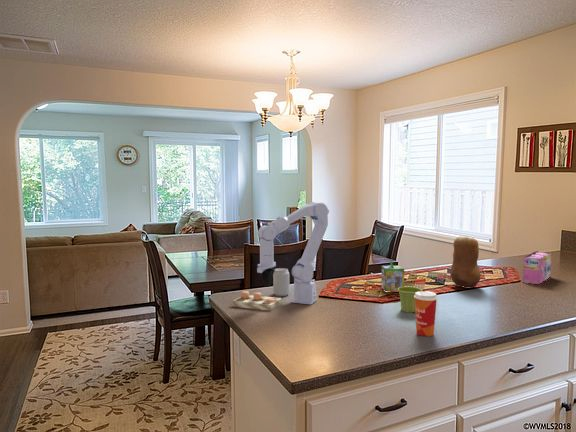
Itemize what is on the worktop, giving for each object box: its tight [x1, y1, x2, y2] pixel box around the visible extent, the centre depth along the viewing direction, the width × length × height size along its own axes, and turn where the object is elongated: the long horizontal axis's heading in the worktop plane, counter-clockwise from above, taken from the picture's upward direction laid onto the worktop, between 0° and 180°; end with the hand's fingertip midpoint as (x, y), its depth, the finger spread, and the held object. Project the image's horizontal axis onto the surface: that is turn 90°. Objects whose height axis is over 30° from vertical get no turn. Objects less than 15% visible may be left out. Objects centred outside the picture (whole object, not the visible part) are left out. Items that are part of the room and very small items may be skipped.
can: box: [272, 267, 290, 297], centre depth 196 cm, size 8×8×12 cm
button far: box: [240, 290, 250, 300], centre depth 182 cm, size 3×3×3 cm
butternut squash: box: [449, 236, 482, 288], centre depth 206 cm, size 14×13×25 cm
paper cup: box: [414, 290, 438, 337], centre depth 145 cm, size 8×8×14 cm
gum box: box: [522, 251, 552, 285], centre depth 221 cm, size 24×8×14 cm, turn 136°
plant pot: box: [398, 286, 423, 313], centre depth 171 cm, size 9×9×9 cm
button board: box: [232, 294, 283, 312], centre depth 180 cm, size 18×11×3 cm, turn 68°
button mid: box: [252, 291, 262, 301], centre depth 180 cm, size 3×3×3 cm
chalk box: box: [380, 259, 405, 291], centre depth 201 cm, size 9×9×15 cm
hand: (267, 286), depth 178 cm, fingers closed
